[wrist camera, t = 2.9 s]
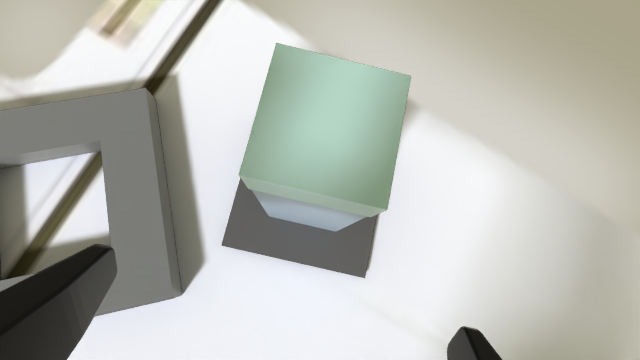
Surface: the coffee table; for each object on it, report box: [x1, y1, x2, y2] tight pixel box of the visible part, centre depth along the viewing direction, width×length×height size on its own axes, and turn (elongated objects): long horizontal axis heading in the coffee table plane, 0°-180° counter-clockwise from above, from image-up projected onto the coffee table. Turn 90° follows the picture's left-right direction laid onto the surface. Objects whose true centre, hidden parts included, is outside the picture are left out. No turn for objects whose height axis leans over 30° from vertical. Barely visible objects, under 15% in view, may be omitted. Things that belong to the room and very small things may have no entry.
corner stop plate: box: [222, 178, 376, 278], centre depth 20 cm, size 8×8×2 cm
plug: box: [239, 43, 411, 232], centre depth 15 cm, size 4×4×11 cm
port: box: [0, 88, 182, 317], centre depth 19 cm, size 12×12×2 cm
